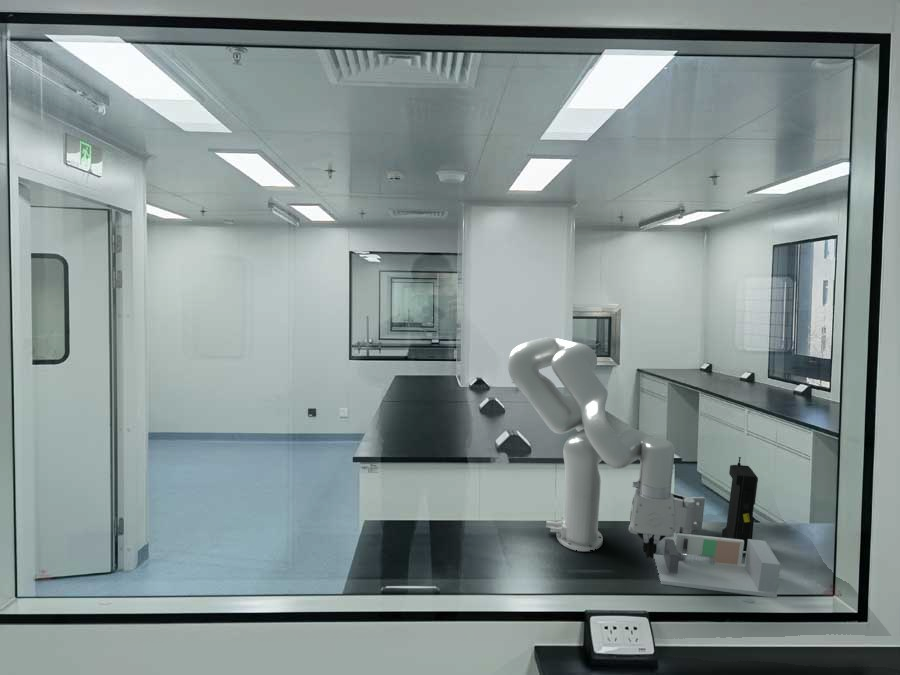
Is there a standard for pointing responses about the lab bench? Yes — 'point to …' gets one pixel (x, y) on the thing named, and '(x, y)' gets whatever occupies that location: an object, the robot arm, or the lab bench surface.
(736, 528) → the portable radio
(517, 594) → the lab bench surface
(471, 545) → the lab bench surface
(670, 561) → the plunger
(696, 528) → the hinge
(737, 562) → the stand
